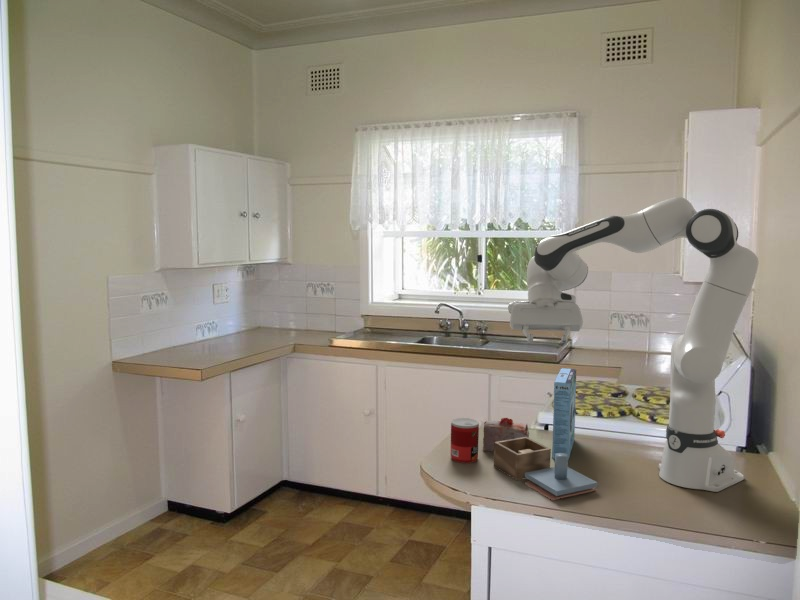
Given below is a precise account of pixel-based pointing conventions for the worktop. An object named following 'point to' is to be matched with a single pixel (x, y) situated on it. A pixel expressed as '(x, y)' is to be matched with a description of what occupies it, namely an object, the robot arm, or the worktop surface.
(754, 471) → the worktop surface
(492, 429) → the food item
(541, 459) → the crate
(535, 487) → the mat
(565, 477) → the lid
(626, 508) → the worktop surface
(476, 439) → the canned food
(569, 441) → the blue box
